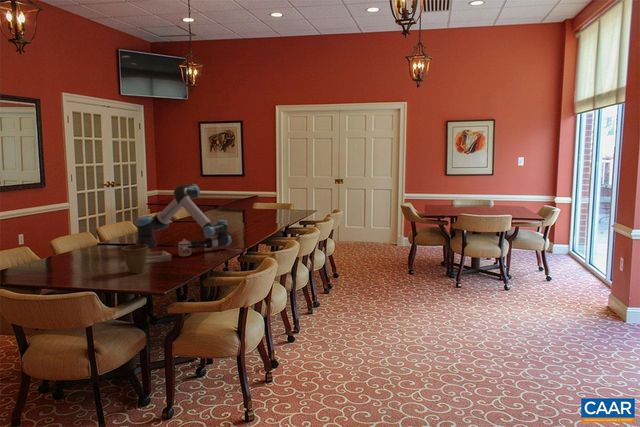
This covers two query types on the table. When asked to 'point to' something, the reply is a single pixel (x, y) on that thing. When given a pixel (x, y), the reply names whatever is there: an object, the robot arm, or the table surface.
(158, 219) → the robot arm
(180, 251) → the teacup with lid
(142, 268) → the plant pot
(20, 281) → the table surface
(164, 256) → the square tray
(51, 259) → the table surface
